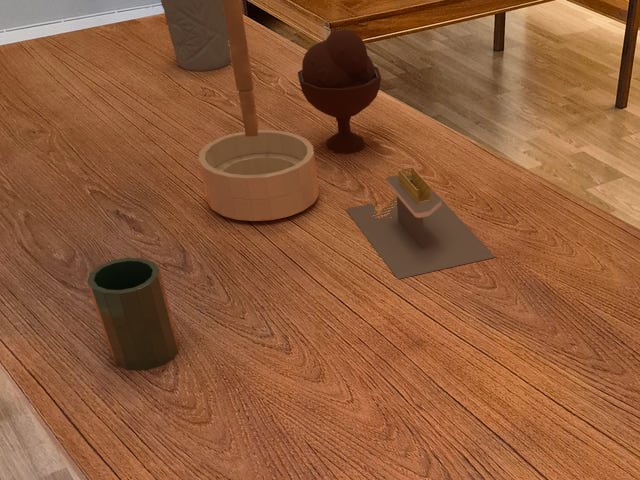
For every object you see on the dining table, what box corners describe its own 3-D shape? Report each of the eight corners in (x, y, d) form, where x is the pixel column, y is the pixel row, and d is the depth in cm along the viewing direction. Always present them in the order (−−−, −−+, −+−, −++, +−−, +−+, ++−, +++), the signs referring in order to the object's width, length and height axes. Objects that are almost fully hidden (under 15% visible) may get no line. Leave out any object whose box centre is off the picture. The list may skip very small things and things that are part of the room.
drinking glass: (171, 74, 142) (153, -9, 134) (174, 52, 149) (157, -28, 141) (236, 70, 143) (222, -12, 135) (236, 49, 151) (223, -30, 142)
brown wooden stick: (244, 136, 104) (204, -105, 87) (244, 126, 106) (206, -112, 90) (259, 136, 104) (223, -105, 88) (260, 125, 106) (224, -112, 90)
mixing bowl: (205, 229, 105) (195, 181, 101) (211, 178, 115) (201, 132, 111) (321, 221, 107) (315, 173, 103) (317, 172, 117) (311, 127, 113)
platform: (434, 191, 113) (433, 140, 109) (495, 257, 102) (496, 203, 97) (344, 208, 110) (339, 157, 105) (397, 279, 98) (394, 224, 93)
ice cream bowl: (378, 126, 128) (371, 13, 118) (389, 159, 120) (382, 41, 110) (304, 131, 126) (290, 17, 116) (310, 165, 119) (295, 46, 108)
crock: (110, 378, 84) (82, 296, 78) (118, 340, 89) (92, 259, 83) (177, 372, 85) (155, 290, 79) (182, 335, 90) (161, 254, 83)
